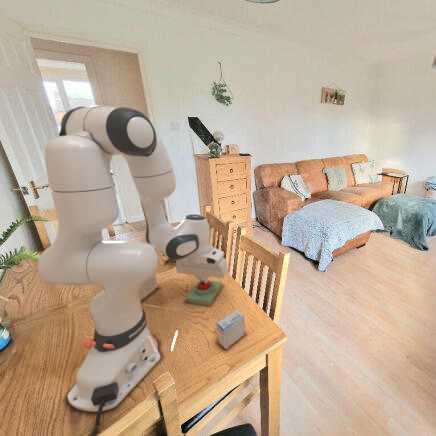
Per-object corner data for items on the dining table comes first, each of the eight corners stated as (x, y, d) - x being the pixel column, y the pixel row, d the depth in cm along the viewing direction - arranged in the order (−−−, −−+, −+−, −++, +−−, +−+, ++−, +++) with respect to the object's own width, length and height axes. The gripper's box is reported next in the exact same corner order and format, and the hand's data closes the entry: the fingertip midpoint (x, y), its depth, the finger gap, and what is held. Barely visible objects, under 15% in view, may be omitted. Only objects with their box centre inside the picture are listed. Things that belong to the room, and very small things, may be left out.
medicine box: (237, 327, 84) (235, 309, 81) (245, 335, 82) (244, 315, 78) (217, 342, 78) (215, 322, 75) (226, 350, 76) (224, 330, 73)
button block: (209, 305, 93) (209, 297, 92) (186, 302, 95) (184, 294, 93) (222, 286, 104) (221, 278, 103) (200, 283, 106) (199, 276, 104)
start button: (206, 291, 96) (206, 287, 95) (196, 289, 96) (196, 286, 96) (211, 284, 100) (211, 280, 99) (201, 282, 100) (201, 279, 100)
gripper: (170, 255, 90) (175, 284, 96) (221, 261, 88) (224, 290, 94) (179, 247, 96) (183, 275, 102) (227, 252, 94) (230, 280, 100)
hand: (203, 282), depth 98 cm, fingers closed
